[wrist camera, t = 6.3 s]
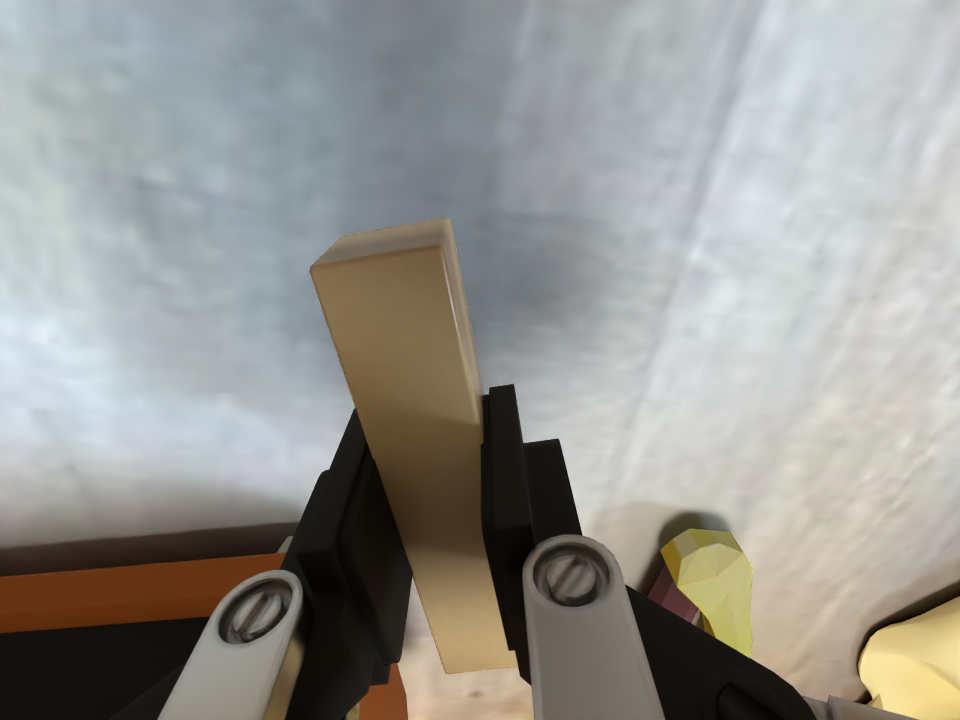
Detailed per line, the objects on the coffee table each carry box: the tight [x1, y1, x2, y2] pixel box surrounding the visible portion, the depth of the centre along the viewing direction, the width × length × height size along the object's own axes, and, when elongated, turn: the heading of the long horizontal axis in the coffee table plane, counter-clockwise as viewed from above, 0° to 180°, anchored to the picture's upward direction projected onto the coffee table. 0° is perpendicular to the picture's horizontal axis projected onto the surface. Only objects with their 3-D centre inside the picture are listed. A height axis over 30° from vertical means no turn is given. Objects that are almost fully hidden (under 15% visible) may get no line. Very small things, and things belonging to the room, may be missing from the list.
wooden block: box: [310, 218, 518, 674], centre depth 10 cm, size 10×2×2 cm, turn 10°
